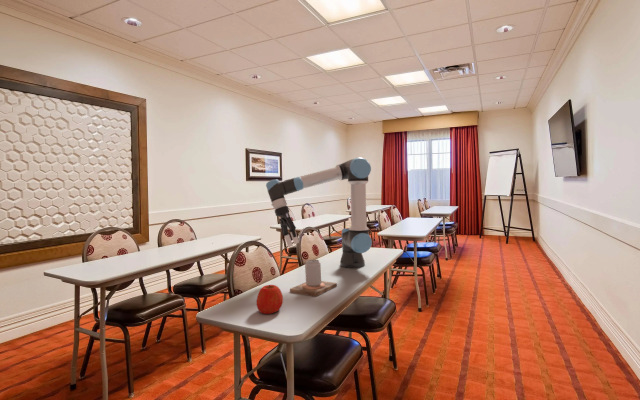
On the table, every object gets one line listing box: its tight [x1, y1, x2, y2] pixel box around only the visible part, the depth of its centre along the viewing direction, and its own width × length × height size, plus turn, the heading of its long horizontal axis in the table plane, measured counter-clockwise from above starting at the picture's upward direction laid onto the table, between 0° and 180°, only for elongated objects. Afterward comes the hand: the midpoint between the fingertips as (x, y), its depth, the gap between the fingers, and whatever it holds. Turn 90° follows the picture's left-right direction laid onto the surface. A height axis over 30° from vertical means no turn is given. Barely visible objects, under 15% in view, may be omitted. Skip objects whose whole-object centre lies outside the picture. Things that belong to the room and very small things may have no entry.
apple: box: [256, 284, 284, 315], centre depth 138 cm, size 11×11×11 cm
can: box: [304, 259, 322, 287], centre depth 165 cm, size 8×8×12 cm
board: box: [289, 280, 338, 297], centre depth 166 cm, size 18×15×2 cm
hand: (293, 245), depth 182 cm, fingers open, 13 cm apart
